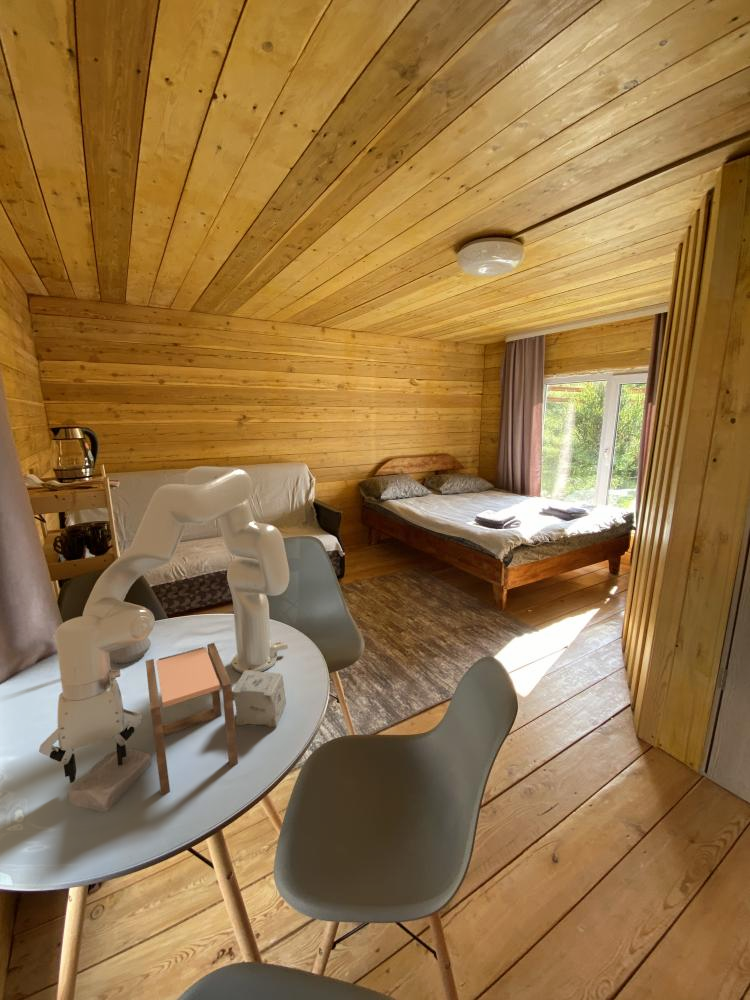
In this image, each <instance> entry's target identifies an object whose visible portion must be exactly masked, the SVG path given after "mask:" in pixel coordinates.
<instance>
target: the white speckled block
mask: <svg viewBox="0 0 750 1000" xmlns="http://www.w3.org/2000/svg"><path fill="white" fill-rule="evenodd" d="M284 684H285V683H284V678H283V674H282V673H281V672H280V673H279V672H267V671H261V672H258V671H250V670H245V671H244V672H243V673H241V676H240V678H238V681H237V683H236V684H235V686H234V688H232V697H233V702H234V703H235V710H236V711H235V712H236V713H235V714H236V717H235V718H234V721H235V726H246V725H248V724H249V725H265V726H267V727H270V728H271V727H272V728H273V727H277V726H278V725H279V721H280V718H281V717H282V715H283V712H284V710H285V709H286V705H287V698H286V695H285V694H286V693H285V692H286V691H285V685H284Z"/></svg>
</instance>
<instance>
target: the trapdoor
mask: <svg viewBox="0 0 750 1000" xmlns="http://www.w3.org/2000/svg"><path fill="white" fill-rule="evenodd" d="M206 647H207V646H205V647H204V646H203V647H198V648H195V649H191V650H187V651H184V652H183V651H182V652H180V653H175V654H172V655H168V656H165V657H160V658H158V659H156V669H157V675H158V682H159V687H160V696H161V701H162V708H166V707H169V706H172V705H175V704H178V703H182V702H184V701H187V700H191V699H194V698H197V697H200V696H204V695H206V694H209V693H212V692H213V691H216V690H219V691H220V690H221V684H220V681H219V679H217V676H216V673H215V671H214V668H213V665H212V663H211V660H210V657H209V655H208V648H206Z"/></svg>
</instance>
